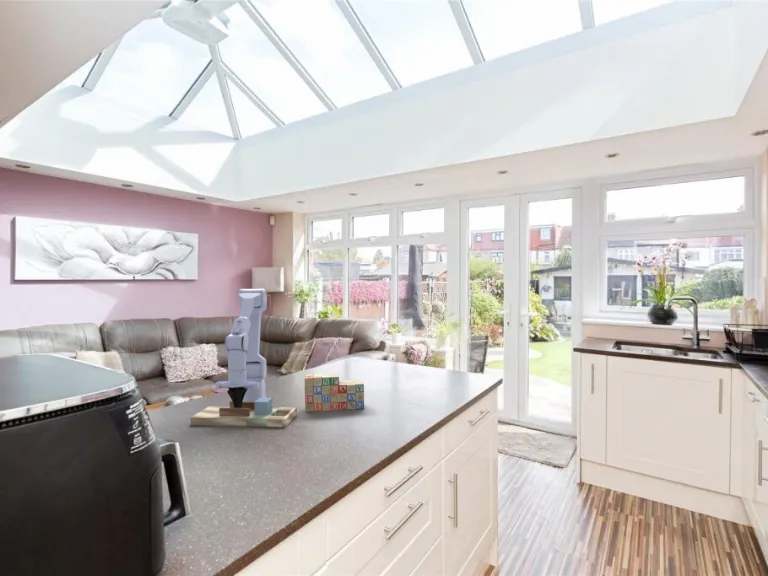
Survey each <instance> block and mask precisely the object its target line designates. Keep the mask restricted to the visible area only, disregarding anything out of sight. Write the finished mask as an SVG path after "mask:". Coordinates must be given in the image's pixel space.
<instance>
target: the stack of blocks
mask: <svg viewBox="0 0 768 576" xmlns="http://www.w3.org/2000/svg"><path fill="white" fill-rule="evenodd" d="M304 403H305V404H304V405H305V406H304V410H305V411H304V412H323V411H325V412H327V410H330V411H340V410H339V409H352V410H364V409H365V385H364V380H363V379H359V380H354V379H353V380H352V379H351V380H340V374H339V372H333V373H332V372H331V373H330V372H329V373H328V372H327V373H315V374H314V373H309V374H306V375H305V376H304Z"/></svg>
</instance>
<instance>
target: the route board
mask: <svg viewBox="0 0 768 576" xmlns="http://www.w3.org/2000/svg"><path fill="white" fill-rule="evenodd" d="M297 409H298V408H297V407H283V406H281V407H280V406H278V407H277V406H275V407H274V406H272V412H271V413H269V414H268V415H255V401H243V402H242V407H241V408H234V405H233V402H232V400H230V401H229V406H228V405H227V406H226V405H225V406H224V405H223V406H222V405H209V406H207V407H206V408H203V409H202V410H200V411H199V412H197V413H195V414H193V415H192V416H190V418H189V419H190V426H214V427H215V426H218V427H219V426H221V427H224V426H225V427H262V428H263V427H264V428H266V427H267V428H286V427H287V426H288V425H289V424H290V423H291V422H292V420H294V419H295V417H296V416H297V415H298V414H297V413H298V412H297V411H298V410H297Z"/></svg>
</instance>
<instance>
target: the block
mask: <svg viewBox="0 0 768 576" xmlns="http://www.w3.org/2000/svg"><path fill="white" fill-rule="evenodd" d="M272 407H273V397H266V398H259V399H258V400H256V401H255V415H268V414H269V413H271V412H272Z"/></svg>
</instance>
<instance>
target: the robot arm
mask: <svg viewBox="0 0 768 576" xmlns="http://www.w3.org/2000/svg"><path fill="white" fill-rule="evenodd" d="M237 293H238V294H237V300H238V303H239V306H240V309H239V314H238V317H236V318H235V319H234V321H233V325H232V327H231V330H230V334H228V335H227V336H225V340H224V348H225V352H226V353H225V354H226V358H227V368H228V369H227V370H228V380H224V381H217V382H215V389H217V390H218V389H228V390H227V394H228V396H229V397H230V399H231V401H232V402H233V405H234V408H241V407H242V402H243V401H256V400H258V399H259V398H267V392H266V391H267V389H266V388H267V387H266V381H265V380H264V379H266V377H267V375H268V374H267V372H268V371H267V370H268V366H267V359H266V358H265V357H264V356H262V355H261V354H260V345H261V327H262V326H261V325H262V315H263V312H264V311H266V310H267V307H268V305H267V304H268V303H267V302H268V292H267V290H266V289H265V288H239V291H238V292H237Z"/></svg>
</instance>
